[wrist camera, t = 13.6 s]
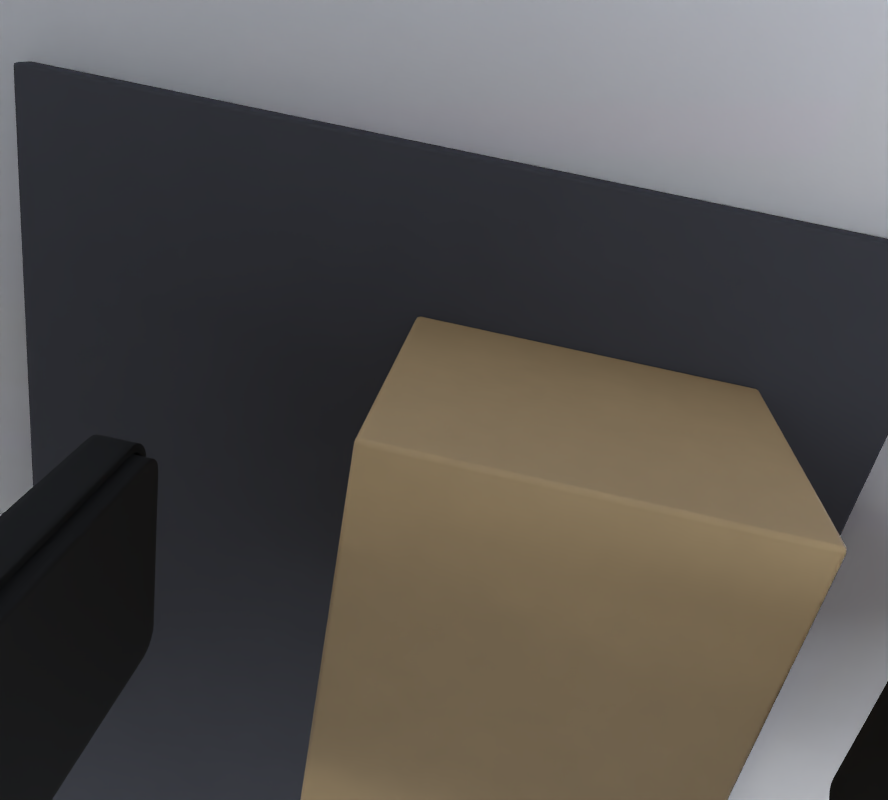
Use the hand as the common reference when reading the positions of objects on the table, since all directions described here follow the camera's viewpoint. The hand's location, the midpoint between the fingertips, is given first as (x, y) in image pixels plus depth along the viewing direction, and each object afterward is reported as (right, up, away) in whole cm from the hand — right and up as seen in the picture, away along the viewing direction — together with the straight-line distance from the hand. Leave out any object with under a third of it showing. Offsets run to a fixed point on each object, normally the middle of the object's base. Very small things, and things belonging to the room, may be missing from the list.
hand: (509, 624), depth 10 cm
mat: (-2, -2, +5) cm, 6 cm away
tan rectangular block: (+1, +1, +3) cm, 3 cm away
